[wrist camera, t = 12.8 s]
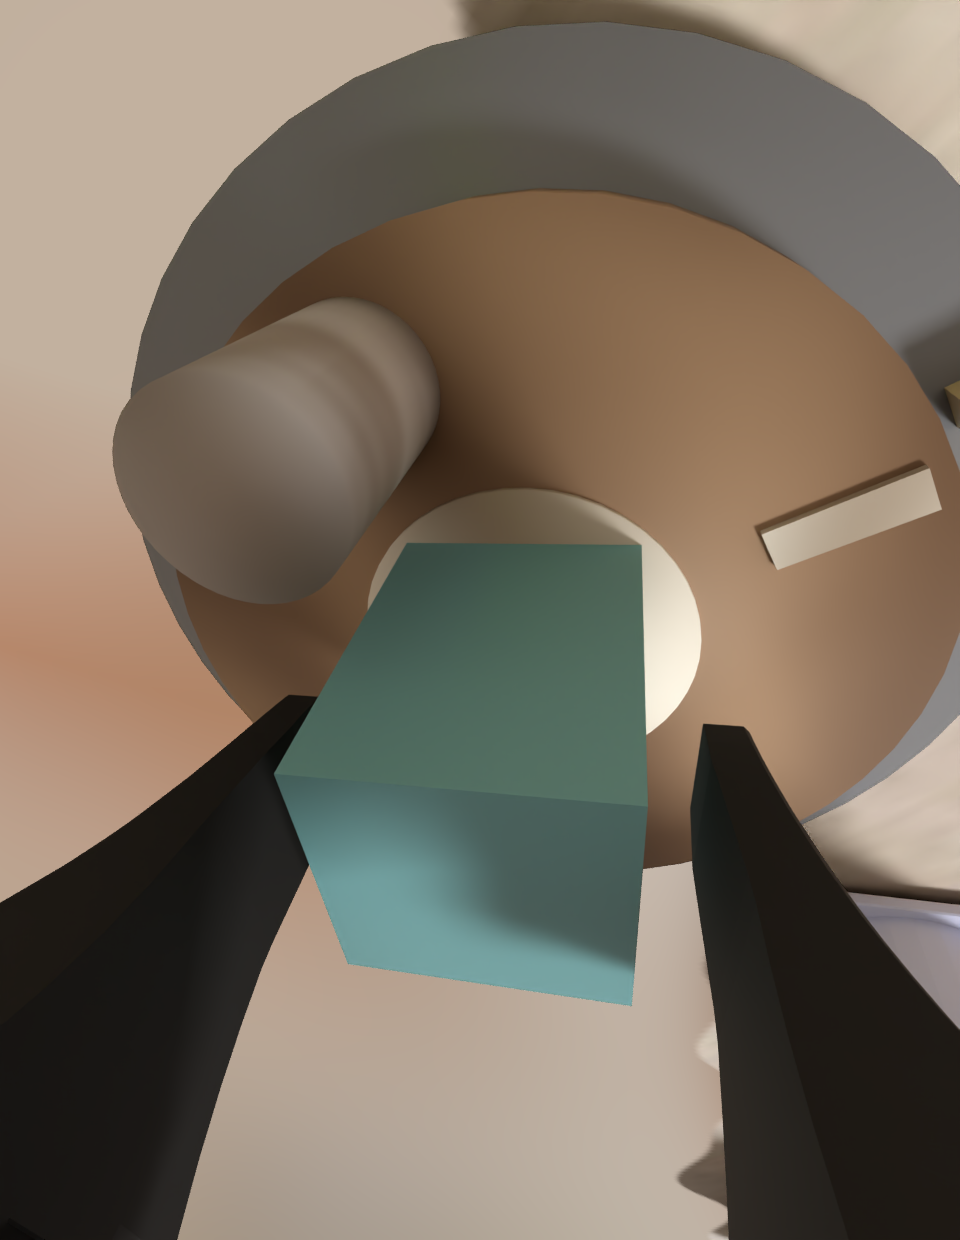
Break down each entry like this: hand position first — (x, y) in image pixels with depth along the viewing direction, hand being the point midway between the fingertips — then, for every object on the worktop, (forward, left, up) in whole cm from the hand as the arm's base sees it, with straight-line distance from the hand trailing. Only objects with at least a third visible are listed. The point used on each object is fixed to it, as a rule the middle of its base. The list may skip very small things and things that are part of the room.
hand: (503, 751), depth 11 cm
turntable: (0, 0, -5) cm, 5 cm away
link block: (0, 0, -3) cm, 3 cm away
